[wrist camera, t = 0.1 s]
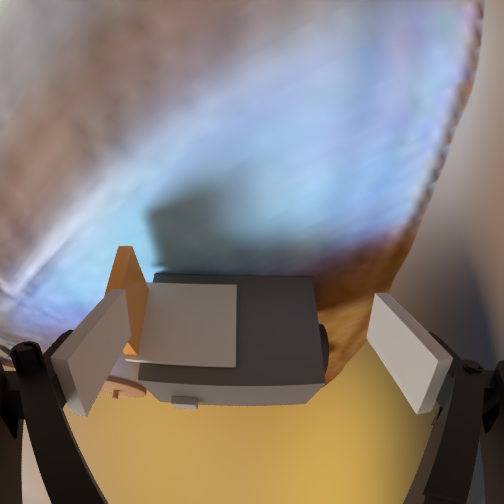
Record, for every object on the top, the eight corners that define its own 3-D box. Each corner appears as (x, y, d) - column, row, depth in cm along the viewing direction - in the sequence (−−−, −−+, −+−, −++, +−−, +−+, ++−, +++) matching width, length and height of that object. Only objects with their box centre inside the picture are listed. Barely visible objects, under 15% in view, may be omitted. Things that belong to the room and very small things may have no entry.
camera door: (121, 238, 31) (97, 326, 24) (236, 239, 31) (235, 334, 25) (140, 285, 37) (126, 360, 31) (236, 287, 38) (235, 367, 32)
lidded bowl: (143, 341, 56) (136, 395, 49) (155, 362, 66) (151, 408, 59) (86, 334, 55) (75, 385, 49) (105, 356, 65) (98, 400, 58)
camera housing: (154, 273, 39) (136, 388, 29) (323, 276, 40) (339, 390, 30) (169, 314, 47) (159, 408, 38) (307, 316, 48) (316, 409, 39)
